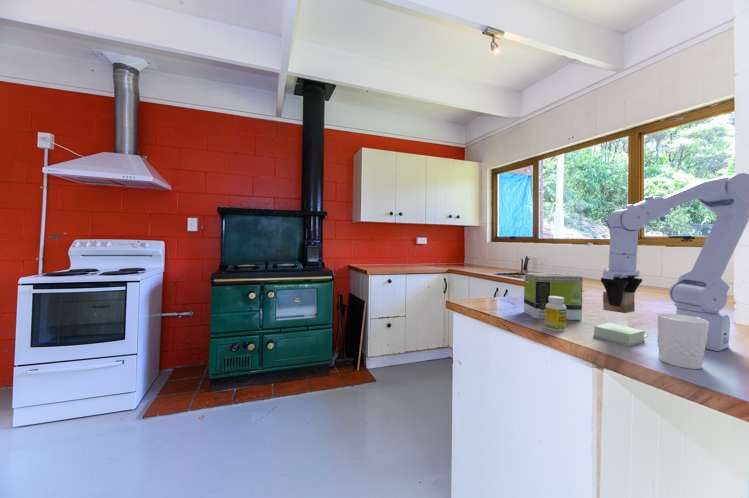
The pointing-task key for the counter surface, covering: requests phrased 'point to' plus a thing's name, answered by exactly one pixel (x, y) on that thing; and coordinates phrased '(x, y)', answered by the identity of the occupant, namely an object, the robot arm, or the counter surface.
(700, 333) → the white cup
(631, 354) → the counter surface
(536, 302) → the tea box
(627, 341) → the base brick
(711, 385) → the counter surface
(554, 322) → the supplement bottle
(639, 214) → the robot arm
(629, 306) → the walnut brick
